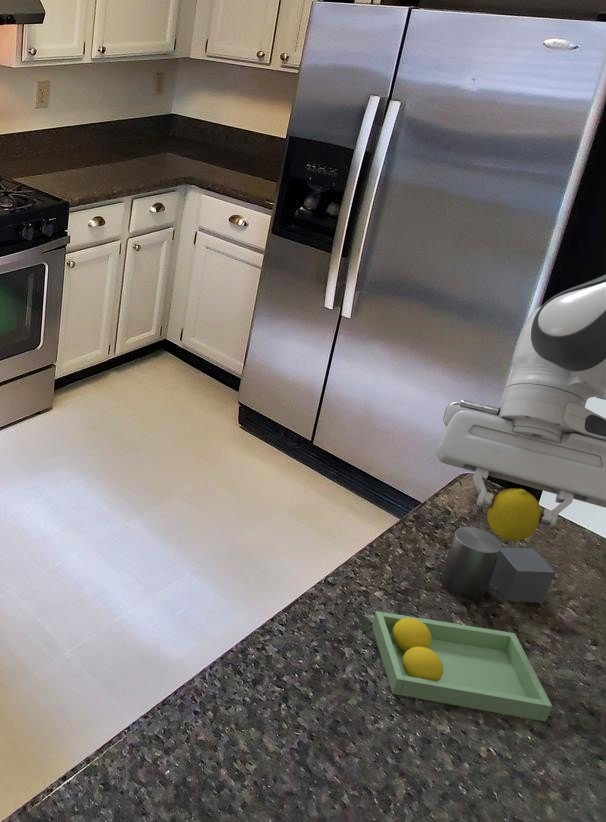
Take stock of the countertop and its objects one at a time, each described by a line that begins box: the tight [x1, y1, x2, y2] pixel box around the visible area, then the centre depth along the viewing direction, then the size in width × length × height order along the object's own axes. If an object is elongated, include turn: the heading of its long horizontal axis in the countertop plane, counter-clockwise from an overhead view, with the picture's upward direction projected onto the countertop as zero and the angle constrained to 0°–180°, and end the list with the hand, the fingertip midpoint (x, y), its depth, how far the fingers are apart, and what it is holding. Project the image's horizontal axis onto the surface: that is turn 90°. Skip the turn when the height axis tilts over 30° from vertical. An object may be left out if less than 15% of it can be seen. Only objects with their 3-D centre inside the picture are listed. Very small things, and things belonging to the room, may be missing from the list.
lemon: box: [486, 488, 542, 542], centre depth 103 cm, size 6×6×8 cm
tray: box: [371, 610, 553, 722], centre depth 101 cm, size 17×12×3 cm
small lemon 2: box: [402, 647, 443, 681], centre depth 99 cm, size 4×4×4 cm
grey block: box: [490, 546, 556, 606], centre depth 113 cm, size 5×5×6 cm
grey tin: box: [439, 526, 503, 601], centre depth 113 cm, size 6×6×9 cm
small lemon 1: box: [393, 618, 432, 651], centre depth 103 cm, size 4×4×4 cm
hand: (514, 515), depth 103 cm, fingers closed on lemon, 5 cm apart
